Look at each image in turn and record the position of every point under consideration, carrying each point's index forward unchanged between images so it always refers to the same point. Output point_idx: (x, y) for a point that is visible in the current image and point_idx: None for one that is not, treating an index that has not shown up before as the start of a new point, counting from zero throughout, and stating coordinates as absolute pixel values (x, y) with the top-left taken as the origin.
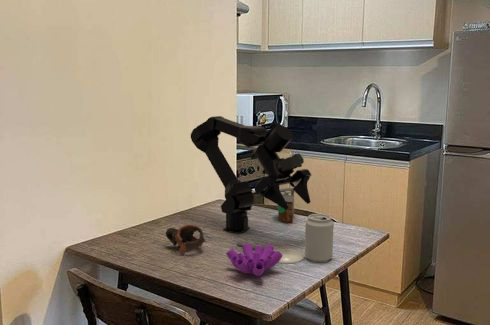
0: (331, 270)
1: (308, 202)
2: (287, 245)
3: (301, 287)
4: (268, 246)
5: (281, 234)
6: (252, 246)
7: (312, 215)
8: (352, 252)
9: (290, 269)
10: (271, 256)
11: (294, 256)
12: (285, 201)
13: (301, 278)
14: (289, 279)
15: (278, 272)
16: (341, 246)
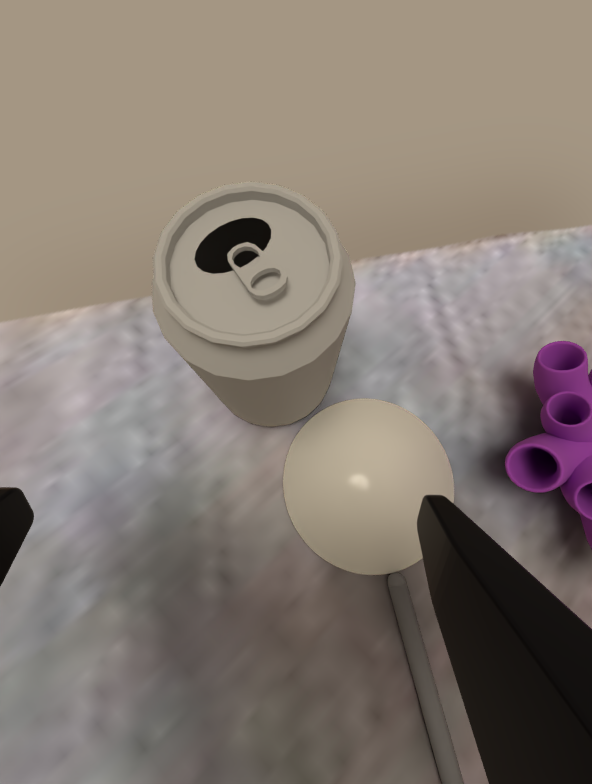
0: None
1: (20, 508)
2: (242, 590)
3: (522, 251)
4: (560, 456)
5: (112, 772)
6: (437, 699)
7: (237, 335)
8: (117, 322)
9: (449, 372)
10: (587, 382)
11: (347, 443)
12: (473, 562)
13: (472, 294)
14: (514, 315)
15: (508, 383)
16: (79, 394)
